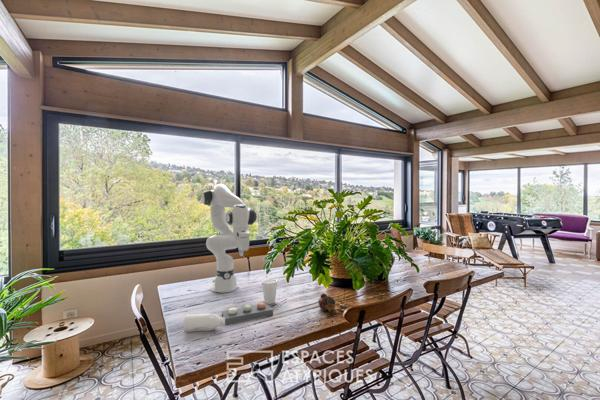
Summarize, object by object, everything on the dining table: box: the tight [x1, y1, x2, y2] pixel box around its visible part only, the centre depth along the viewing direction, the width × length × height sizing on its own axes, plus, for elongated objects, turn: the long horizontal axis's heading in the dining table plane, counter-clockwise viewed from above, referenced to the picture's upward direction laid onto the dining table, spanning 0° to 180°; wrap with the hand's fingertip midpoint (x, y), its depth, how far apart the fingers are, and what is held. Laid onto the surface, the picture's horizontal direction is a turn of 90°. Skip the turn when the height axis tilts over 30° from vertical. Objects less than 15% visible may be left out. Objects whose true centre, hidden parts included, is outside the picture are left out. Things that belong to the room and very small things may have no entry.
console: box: [221, 303, 274, 326], centre depth 156 cm, size 10×26×3 cm, turn 116°
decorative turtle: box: [318, 292, 336, 313], centre depth 163 cm, size 10×15×8 cm, turn 21°
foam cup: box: [261, 278, 278, 305], centre depth 176 cm, size 10×9×13 cm
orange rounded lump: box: [256, 301, 266, 309], centre depth 159 cm, size 5×5×5 cm
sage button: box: [242, 304, 253, 312], centre depth 156 cm, size 5×5×5 cm
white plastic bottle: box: [183, 313, 225, 333], centre depth 140 cm, size 8×19×8 cm, turn 95°
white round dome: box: [227, 306, 238, 315], centre depth 152 cm, size 5×5×5 cm
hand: (241, 255), depth 166 cm, fingers closed
